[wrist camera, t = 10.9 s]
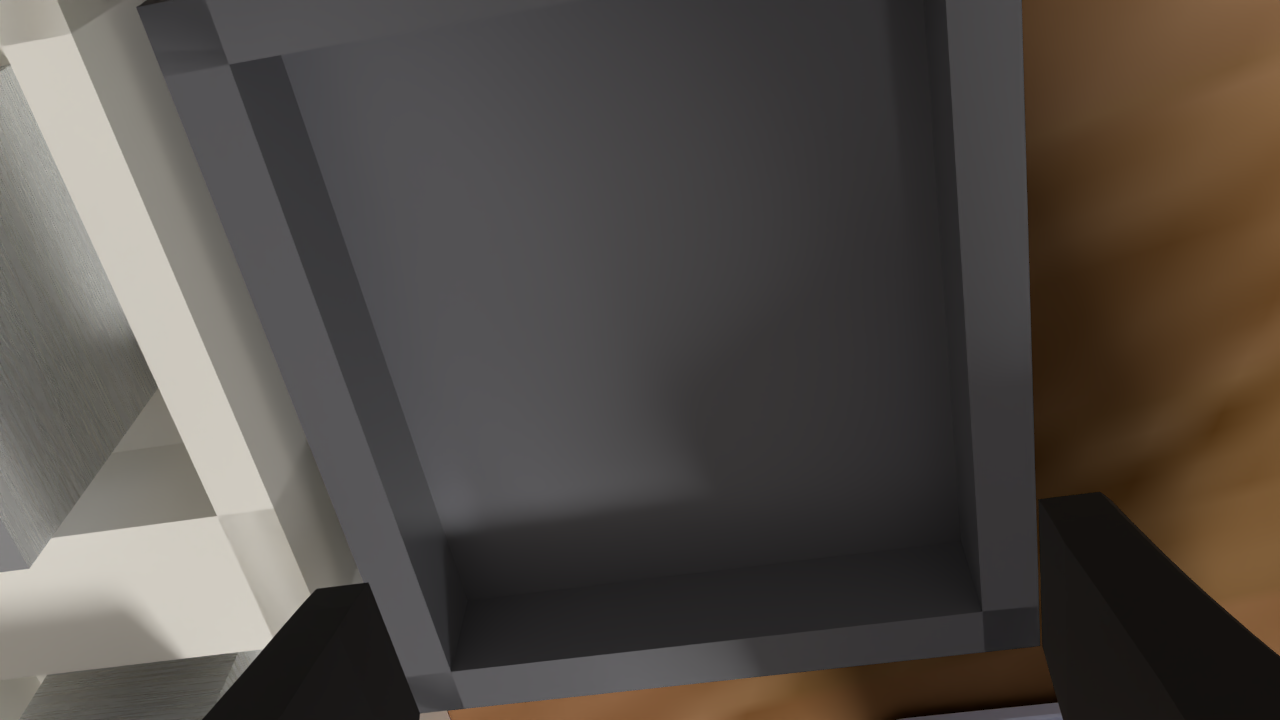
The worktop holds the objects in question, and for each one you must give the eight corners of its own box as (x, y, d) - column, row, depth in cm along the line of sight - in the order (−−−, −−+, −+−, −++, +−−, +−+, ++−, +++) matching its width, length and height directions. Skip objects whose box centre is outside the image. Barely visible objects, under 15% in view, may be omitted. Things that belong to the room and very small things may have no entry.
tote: (1009, 557, 24) (1039, 645, 22) (437, 625, 26) (415, 714, 24) (976, -186, 17) (1016, -162, 15) (198, -35, 19) (136, 7, 17)
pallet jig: (485, 812, 29) (461, 948, 26) (136, 846, 30) (74, 980, 27) (144, -95, 19) (38, -44, 16) (-372, 10, 20) (-563, 76, 17)
